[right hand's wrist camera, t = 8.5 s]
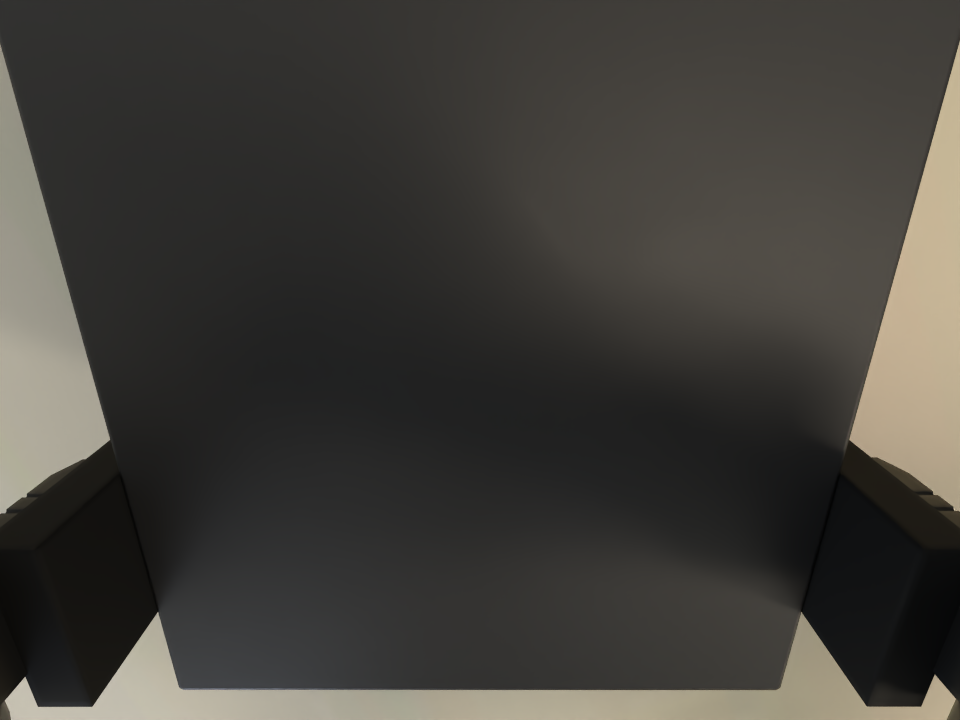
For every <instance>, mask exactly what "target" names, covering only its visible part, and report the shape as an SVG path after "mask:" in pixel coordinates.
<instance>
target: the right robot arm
mask: <svg viewBox="0 0 960 720" xmlns="http://www.w3.org/2000/svg"><path fill="white" fill-rule="evenodd" d="M157 612H158V609H157V606H156V602H155V598H154V595H153V591H152V588H151V584H150V580H149V577H148V573H147V570H146V566H145V562H144V559H143V555H142V552H141V548H140V544H139V541H138V537H137V534H136V530H135V526H134V523H133V519H132V516H131V512H130V508H129V505H128V501H127V498H126V494H125V490H124V487H123V483H122V479H121V476H120V472H119V469H118V465H117V461H116V458H115V454H114V451H113V447H112V443H111V440H110V441H108V442H107V443H106V444H105V445H103V446H102V447H101V448H100V449H98V450H97V451H96V452H95V453H93V454H92V455H91V456H90V457H88V458H87V459H86V460H81V461H79V462H77V463H75V464H73V465H71V466H69V467H67V468H65V469H63V470H61V471H59V472H57V473H55V474H53V475H51V476H50V477H48V478H47V479H46V480H44V481H43V482H42V483H40V484H39V485H38V486H37V487H35V488H34V489H33V490H31V491H30V492H29V493H27V497H26V498H21V499H20V500H18V501H17V502H16V503H14V504H13V505H12V506H10V507H9V508H8V509H7V512H6V514H0V720H11V717H10V712H9V709H8V707H7V705H6V703H5V699H6V698H7V697H8V696H9V695H10V694H11V692H12V691H13V690H14V689H15V688H16V687H17V685H18V684H19V683H20V682H21V681H22V680H23V678H24V677H26V679H27V681H28V684H29V686H30V689H31V691H32V693H33V696H34V698H35V701H36V703H37V705H38V707H92V706H93V705H94V703H95V702H96V701H97V699H98V698H99V696H100V695H101V693H102V692H103V690H104V689H105V688H106V686H107V685H108V683H109V682H110V680H111V679H112V677H113V676H114V675H115V673H116V672H117V670H118V669H119V667H120V666H121V664H122V663H123V662H124V660H125V659H126V657H127V656H128V654H129V653H130V651H131V650H132V649H133V647H134V646H135V644H136V643H137V641H138V640H139V638H140V637H141V635H142V634H143V633H144V631H145V630H146V628H147V627H148V625H149V624H150V622H151V621H152V620H153V618H154V617H155V615H156V614H157ZM801 612H802V613H803V615H804V616H805V618H806V619H807V620H808V622H809V623H810V625H811V626H812V628H813V629H814V631H815V632H816V633H817V635H818V636H819V638H820V639H821V641H822V642H823V644H824V645H825V646H826V648H827V649H828V651H829V652H830V654H831V655H832V657H833V658H834V660H835V661H836V662H837V664H838V665H839V667H840V668H841V670H842V671H843V673H844V674H845V675H846V677H847V678H848V680H849V681H850V683H851V684H852V686H853V687H854V688H855V690H856V691H857V693H858V694H859V696H860V697H861V699H862V700H863V701H864V703H865V704H866V706H904V707H921V706H922V703H923V701H924V698H925V696H926V694H927V691H928V689H929V687H930V684H931V682H932V679H933V677H934V675H936V676H937V677H938V678H939V679H940V681H941V682H942V683H943V684H944V685H945V686H946V688H947V689H948V690H949V691H950V692H951V693H952V695H953V696H954V697H955V698H956V701H955V703H954V705H953V707H952V709H951V712H950V714H949V716H948V718H947V720H960V512H959V511H954V510H953V506H951V505H950V504H949V503H947V502H946V501H945V500H943V499H942V498H941V497H939V496H938V495H933V491H932V490H930V489H929V488H928V487H926V486H925V485H924V484H922V483H921V482H920V481H918V480H917V479H916V478H914V477H913V476H912V475H911V474H909V473H907V472H905V471H903V470H901V469H899V468H897V467H895V466H893V465H891V464H889V463H887V462H885V461H883V460H881V459H879V458H871V457H870V456H869V455H867V454H866V453H865V452H863V451H862V450H861V449H860V448H858V447H857V446H856V445H855V444H853V443H852V442H851V441H850V440H849V441H848V445H847V449H846V452H845V456H844V459H843V463H842V467H841V470H840V474H839V477H838V481H837V485H836V488H835V492H834V495H833V499H832V503H831V506H830V510H829V513H828V517H827V521H826V524H825V528H824V531H823V535H822V539H821V542H820V546H819V550H818V553H817V557H816V560H815V564H814V568H813V571H812V575H811V578H810V582H809V586H808V589H807V593H806V596H805V600H804V604H803V607H802V611H801Z"/></svg>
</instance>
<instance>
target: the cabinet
mask: <svg viewBox="0 0 960 720" xmlns="http://www.w3.org/2000/svg"><path fill="white" fill-rule="evenodd" d="M959 41H960V0H0V44H1V47H2V51H3V55H4V58H5V62H6V65H7V69H8V73H9V76H10V80H11V83H12V87H13V91H14V94H15V98H16V101H17V105H18V109H19V112H20V116H21V119H22V123H23V127H24V130H25V134H26V137H27V141H28V145H29V148H30V152H31V155H32V159H33V163H34V166H35V170H36V173H37V177H38V181H39V184H40V188H41V191H42V195H43V199H44V202H45V206H46V209H47V213H48V217H49V220H50V224H51V227H52V231H53V235H54V238H55V242H56V245H57V249H58V253H59V256H60V260H61V263H62V267H63V271H64V274H65V278H66V281H67V285H68V289H69V292H70V296H71V299H72V303H73V307H74V310H75V314H76V317H77V321H78V325H79V328H80V332H81V335H82V339H83V343H84V346H85V350H86V353H87V357H88V361H89V364H90V368H91V371H92V375H93V379H94V382H95V386H96V389H97V393H98V397H99V400H100V404H101V407H102V411H103V415H104V418H105V422H106V425H107V429H108V433H109V436H110V440H111V443H112V447H113V451H114V454H115V458H116V461H117V465H118V469H119V472H120V476H121V479H122V483H123V487H124V490H125V494H126V498H127V501H128V505H129V508H130V512H131V516H132V519H133V523H134V526H135V530H136V534H137V537H138V541H139V544H140V548H141V552H142V555H143V559H144V562H145V566H146V570H147V573H148V577H149V580H150V584H151V588H152V591H153V595H154V598H155V602H156V606H157V609H158V613H159V616H160V620H161V624H162V627H163V631H164V634H165V638H166V642H167V645H168V649H169V652H170V656H171V660H172V663H173V667H174V670H175V674H176V678H177V681H178V685H179V687H180V688H181V689H183V690H777V689H779V688H780V686H781V683H782V679H783V676H784V672H785V668H786V665H787V661H788V658H789V654H790V650H791V647H792V643H793V640H794V636H795V632H796V629H797V625H798V622H799V618H800V614H801V611H802V607H803V604H804V600H805V596H806V593H807V589H808V586H809V582H810V578H811V575H812V571H813V568H814V564H815V560H816V557H817V553H818V550H819V546H820V542H821V539H822V535H823V531H824V528H825V524H826V521H827V517H828V513H829V510H830V506H831V503H832V499H833V495H834V492H835V488H836V485H837V481H838V477H839V474H840V470H841V467H842V463H843V459H844V456H845V452H846V449H847V445H848V441H849V438H850V434H851V431H852V427H853V423H854V420H855V416H856V413H857V409H858V405H859V402H860V398H861V395H862V391H863V387H864V384H865V380H866V377H867V373H868V369H869V366H870V362H871V359H872V355H873V351H874V348H875V344H876V341H877V337H878V333H879V330H880V326H881V322H882V319H883V315H884V312H885V308H886V304H887V301H888V297H889V294H890V290H891V286H892V283H893V279H894V276H895V272H896V268H897V265H898V261H899V258H900V254H901V250H902V247H903V243H904V240H905V236H906V232H907V229H908V225H909V222H910V218H911V214H912V211H913V207H914V204H915V200H916V196H917V193H918V189H919V186H920V182H921V178H922V175H923V171H924V168H925V164H926V160H927V157H928V153H929V150H930V146H931V142H932V139H933V135H934V132H935V128H936V124H937V121H938V117H939V113H940V110H941V106H942V103H943V99H944V95H945V92H946V88H947V85H948V81H949V77H950V74H951V70H952V67H953V63H954V59H955V56H956V52H957V49H958V45H959Z"/></svg>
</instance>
